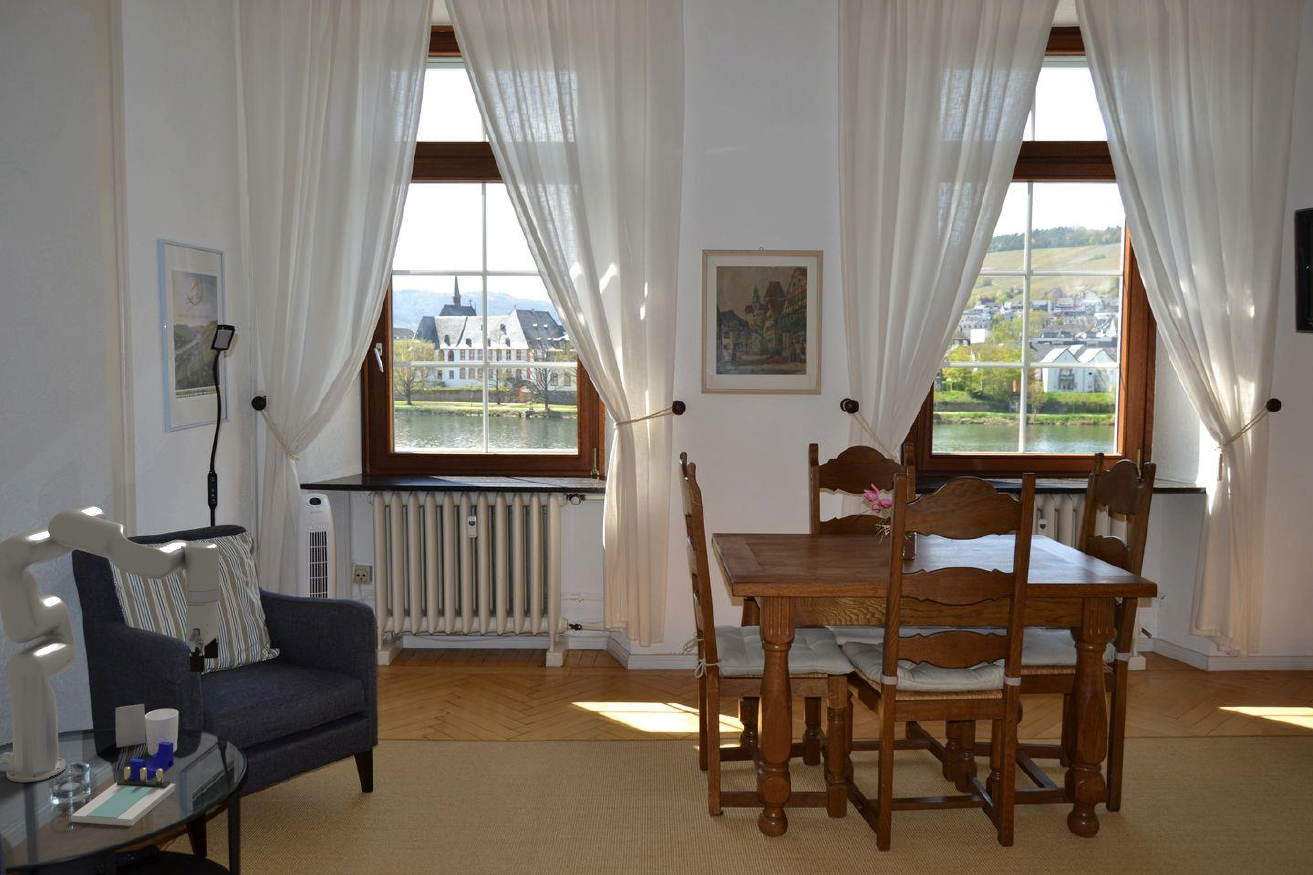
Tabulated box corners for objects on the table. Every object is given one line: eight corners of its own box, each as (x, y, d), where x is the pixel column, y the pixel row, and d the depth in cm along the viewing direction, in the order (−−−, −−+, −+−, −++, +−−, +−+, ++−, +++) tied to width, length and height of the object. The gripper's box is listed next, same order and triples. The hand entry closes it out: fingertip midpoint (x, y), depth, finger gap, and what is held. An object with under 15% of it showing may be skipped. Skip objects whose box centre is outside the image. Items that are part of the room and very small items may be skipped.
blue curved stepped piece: (157, 763, 262) (157, 740, 262) (173, 765, 262) (173, 742, 261) (124, 783, 251) (124, 759, 250) (141, 785, 250) (140, 762, 249)
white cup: (162, 759, 264) (161, 721, 263) (138, 754, 267) (137, 717, 266) (186, 747, 272) (185, 711, 271) (162, 743, 274) (161, 706, 273)
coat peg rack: (117, 784, 246) (116, 768, 246) (122, 781, 248) (121, 765, 248) (165, 788, 245) (165, 771, 245) (170, 784, 247) (169, 768, 247)
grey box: (145, 742, 274) (144, 706, 273) (116, 747, 271) (115, 710, 270) (144, 737, 277) (143, 701, 276) (116, 742, 274) (115, 705, 273)
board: (71, 821, 231) (71, 814, 231) (119, 786, 249) (119, 779, 249) (131, 825, 230) (131, 818, 230) (175, 789, 248) (175, 782, 248)
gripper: (199, 585, 255) (200, 653, 257) (173, 605, 238) (175, 677, 240) (230, 586, 256) (232, 653, 258) (207, 605, 239) (208, 677, 241)
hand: (204, 664), depth 249 cm, fingers open, 9 cm apart
